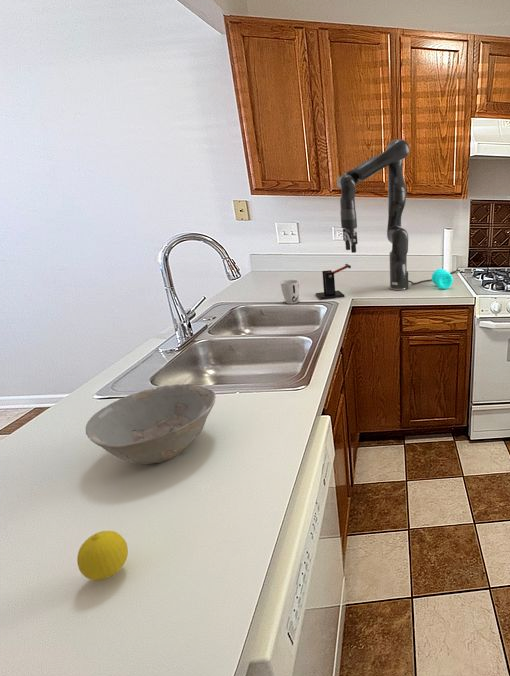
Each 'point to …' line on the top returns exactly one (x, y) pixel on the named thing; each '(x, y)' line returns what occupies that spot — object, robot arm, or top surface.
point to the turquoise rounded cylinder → (440, 282)
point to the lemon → (102, 555)
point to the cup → (290, 291)
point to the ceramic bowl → (152, 422)
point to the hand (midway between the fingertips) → (350, 251)
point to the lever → (342, 268)
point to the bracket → (329, 287)
